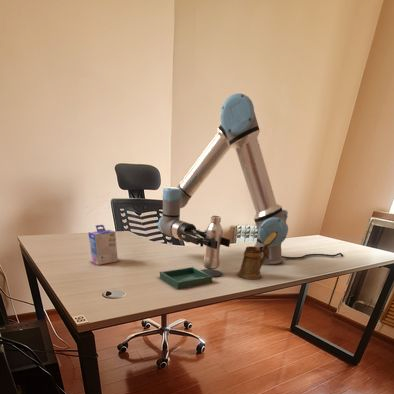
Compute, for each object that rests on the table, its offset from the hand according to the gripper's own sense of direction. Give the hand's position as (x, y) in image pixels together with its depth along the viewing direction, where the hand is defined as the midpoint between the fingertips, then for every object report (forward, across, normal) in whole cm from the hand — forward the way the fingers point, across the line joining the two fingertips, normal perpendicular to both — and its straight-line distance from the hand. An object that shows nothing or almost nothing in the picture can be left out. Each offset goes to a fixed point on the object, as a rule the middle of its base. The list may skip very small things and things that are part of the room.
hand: (222, 244), depth 116 cm
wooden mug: (+6, -15, -13) cm, 21 cm away
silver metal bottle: (-5, 0, -11) cm, 12 cm away
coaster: (-5, 0, -13) cm, 14 cm away
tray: (-4, +14, -13) cm, 20 cm away
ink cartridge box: (-40, +30, -13) cm, 51 cm away
